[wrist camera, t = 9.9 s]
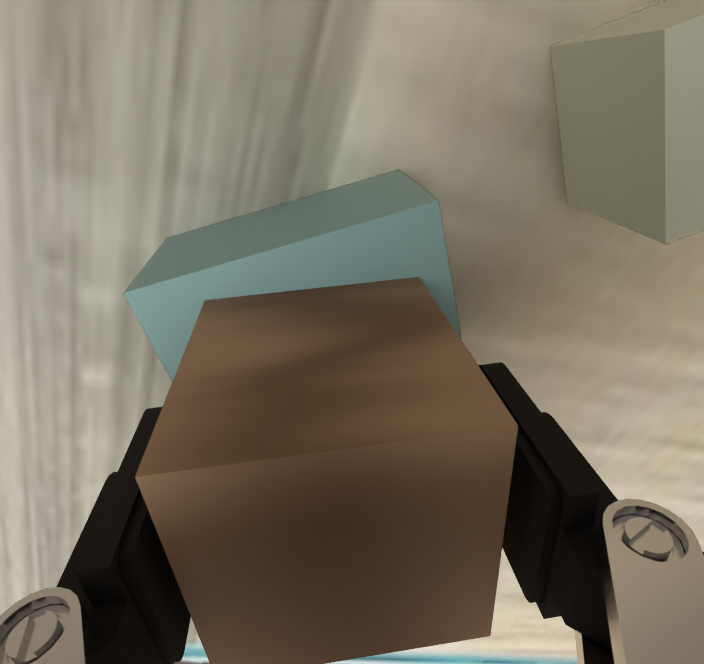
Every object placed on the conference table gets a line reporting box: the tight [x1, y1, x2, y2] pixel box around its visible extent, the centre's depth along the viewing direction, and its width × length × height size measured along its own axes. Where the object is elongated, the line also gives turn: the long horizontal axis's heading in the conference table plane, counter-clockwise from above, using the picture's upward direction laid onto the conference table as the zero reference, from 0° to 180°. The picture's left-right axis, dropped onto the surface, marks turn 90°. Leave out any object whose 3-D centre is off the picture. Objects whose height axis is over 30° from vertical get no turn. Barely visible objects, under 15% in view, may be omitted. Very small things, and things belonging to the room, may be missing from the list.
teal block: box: [123, 169, 462, 382], centre depth 15 cm, size 8×8×5 cm
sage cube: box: [550, 0, 704, 244], centre depth 13 cm, size 5×5×5 cm
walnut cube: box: [135, 277, 518, 664], centre depth 11 cm, size 6×6×6 cm
